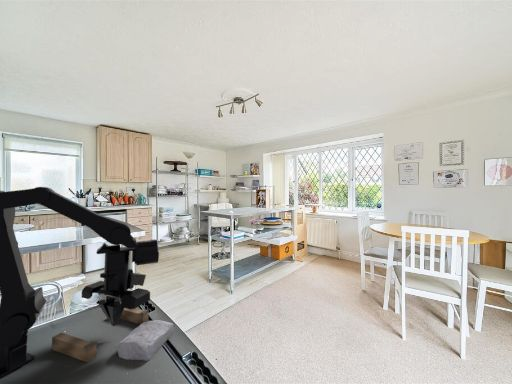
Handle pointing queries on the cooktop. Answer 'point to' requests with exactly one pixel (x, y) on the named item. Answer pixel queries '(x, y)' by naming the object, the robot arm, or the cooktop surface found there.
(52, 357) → the cooktop surface
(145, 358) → the stone block
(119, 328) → the cooktop surface
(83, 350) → the wooden blocks
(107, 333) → the cooktop surface
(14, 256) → the robot arm
